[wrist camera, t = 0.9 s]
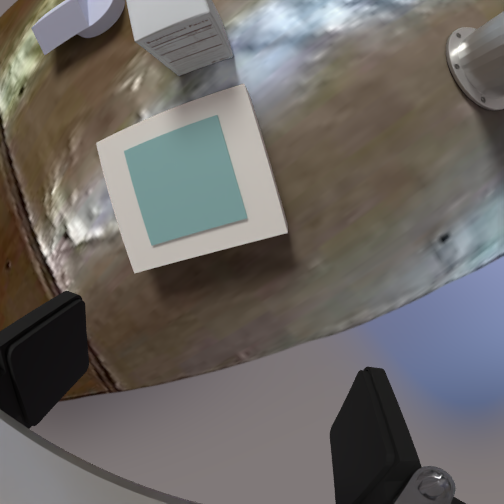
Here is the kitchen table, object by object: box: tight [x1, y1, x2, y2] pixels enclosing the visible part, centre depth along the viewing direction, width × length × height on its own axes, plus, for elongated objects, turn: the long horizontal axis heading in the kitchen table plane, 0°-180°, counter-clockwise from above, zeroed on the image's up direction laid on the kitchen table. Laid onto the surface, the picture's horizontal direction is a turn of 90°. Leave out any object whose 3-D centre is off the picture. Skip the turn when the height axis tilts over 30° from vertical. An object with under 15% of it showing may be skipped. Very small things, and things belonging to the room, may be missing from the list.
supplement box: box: [126, 0, 233, 76], centre depth 26 cm, size 7×7×13 cm
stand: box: [96, 84, 288, 273], centre depth 34 cm, size 18×16×5 cm
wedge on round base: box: [32, 0, 125, 55], centre depth 28 cm, size 9×7×13 cm
